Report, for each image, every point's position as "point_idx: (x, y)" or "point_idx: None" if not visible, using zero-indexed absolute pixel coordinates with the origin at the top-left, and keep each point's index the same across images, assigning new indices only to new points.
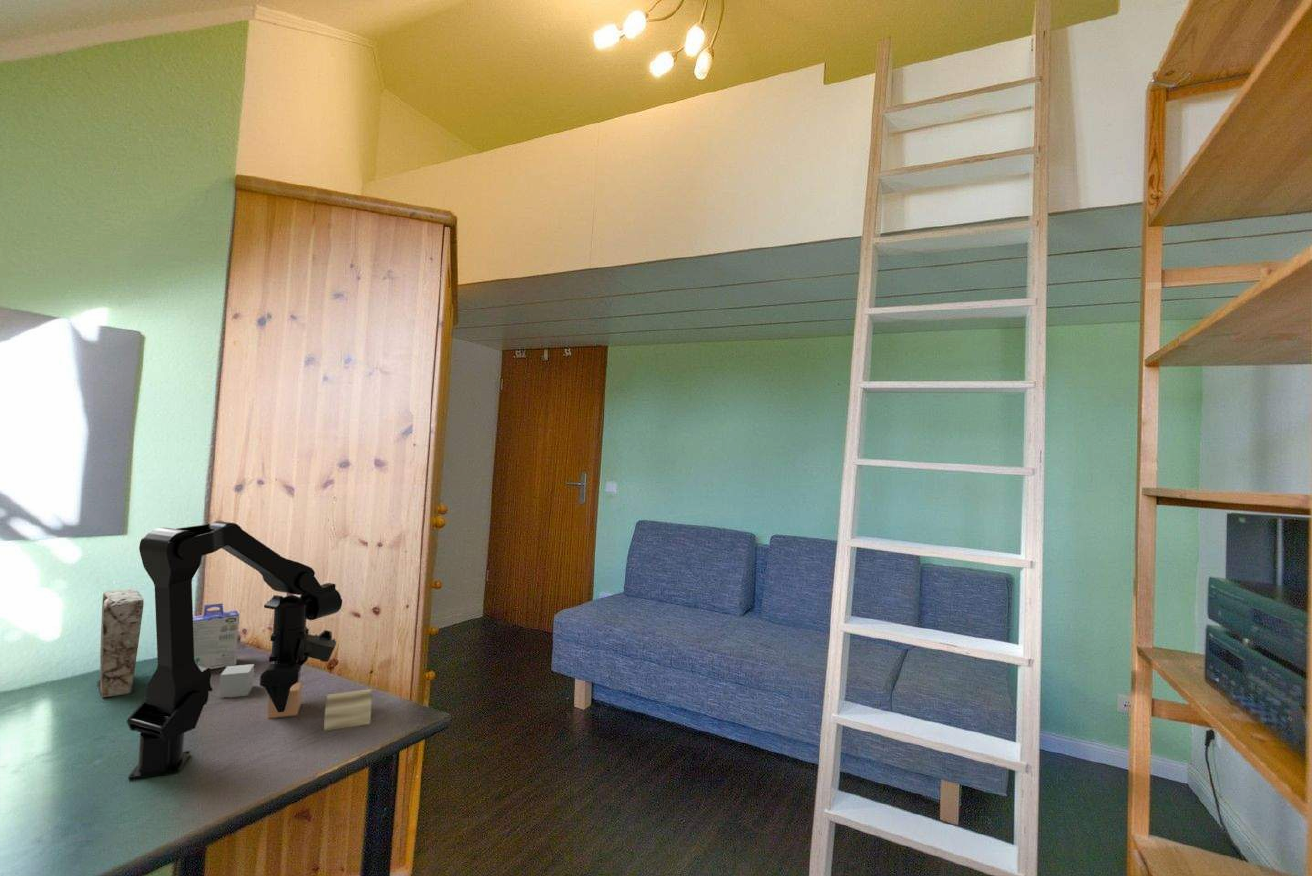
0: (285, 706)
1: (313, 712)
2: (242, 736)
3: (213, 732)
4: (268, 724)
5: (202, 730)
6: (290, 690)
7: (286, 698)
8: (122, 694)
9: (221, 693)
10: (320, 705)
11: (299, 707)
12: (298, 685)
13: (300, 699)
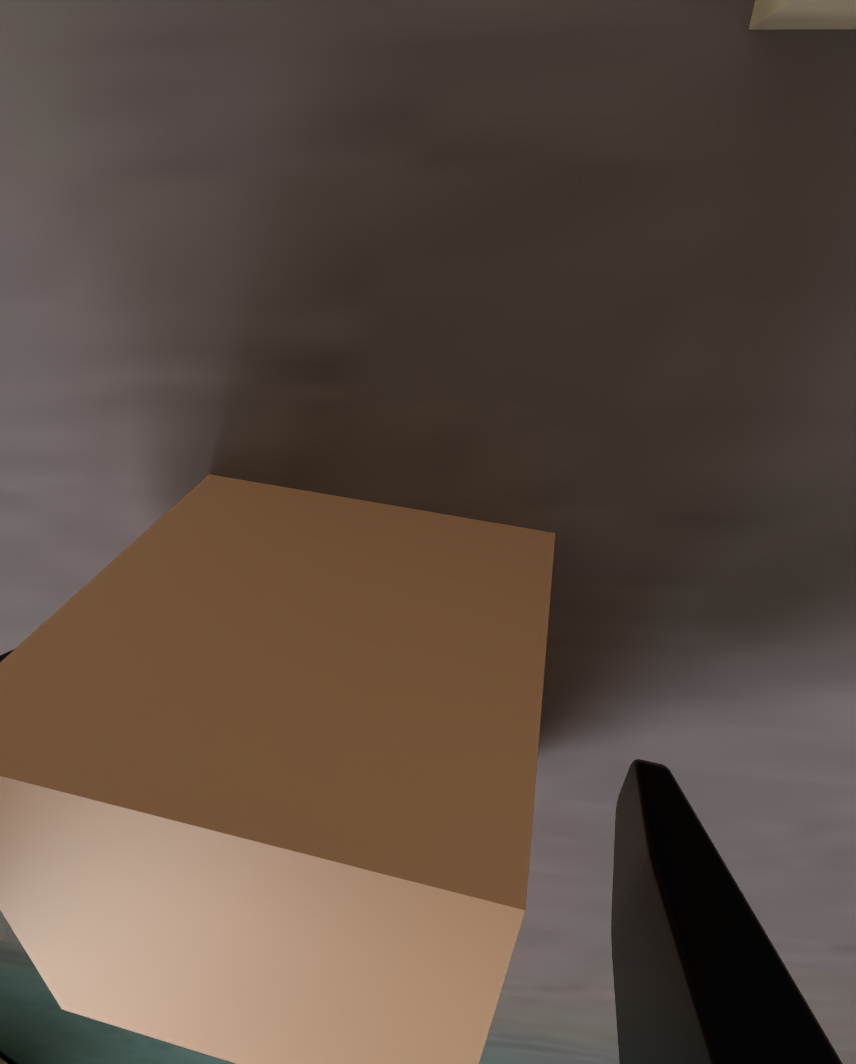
0: (709, 842)
1: (578, 308)
2: (841, 939)
3: (602, 1007)
4: (681, 780)
5: (527, 1024)
6: (459, 990)
7: (821, 1050)
8: (4, 1062)
9: (2, 927)
10: (305, 187)
11: (317, 496)
12: (184, 850)
13: (222, 538)
